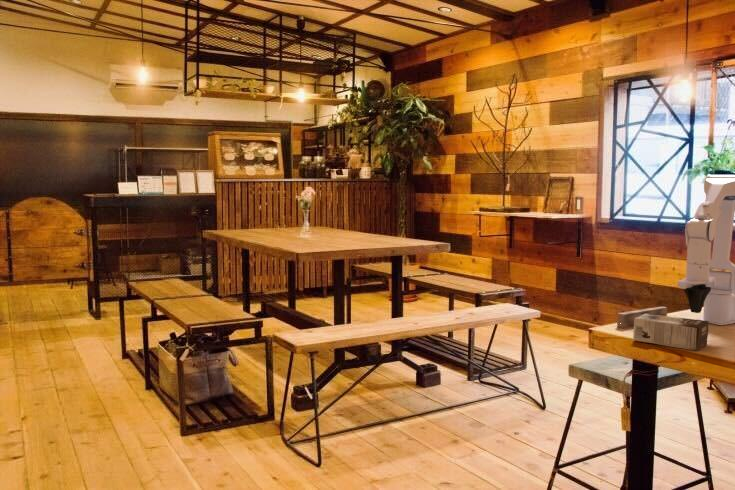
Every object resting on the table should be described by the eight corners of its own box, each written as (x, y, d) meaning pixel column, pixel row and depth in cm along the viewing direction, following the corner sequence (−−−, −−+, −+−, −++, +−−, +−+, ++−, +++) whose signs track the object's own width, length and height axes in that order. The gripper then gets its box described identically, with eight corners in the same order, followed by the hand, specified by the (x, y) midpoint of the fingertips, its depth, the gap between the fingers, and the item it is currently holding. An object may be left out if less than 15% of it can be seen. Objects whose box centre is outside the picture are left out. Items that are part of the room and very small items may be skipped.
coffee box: (645, 312, 183) (709, 320, 173) (644, 335, 184) (707, 344, 174) (633, 317, 176) (700, 326, 166) (632, 341, 177) (698, 351, 167)
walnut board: (660, 319, 204) (661, 306, 204) (666, 320, 202) (667, 307, 202) (617, 326, 194) (617, 313, 194) (622, 328, 192) (623, 314, 192)
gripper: (695, 266, 175) (693, 317, 176) (728, 263, 182) (725, 312, 184) (671, 263, 181) (669, 313, 182) (703, 260, 188) (701, 307, 190)
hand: (695, 312), depth 183 cm, fingers closed
